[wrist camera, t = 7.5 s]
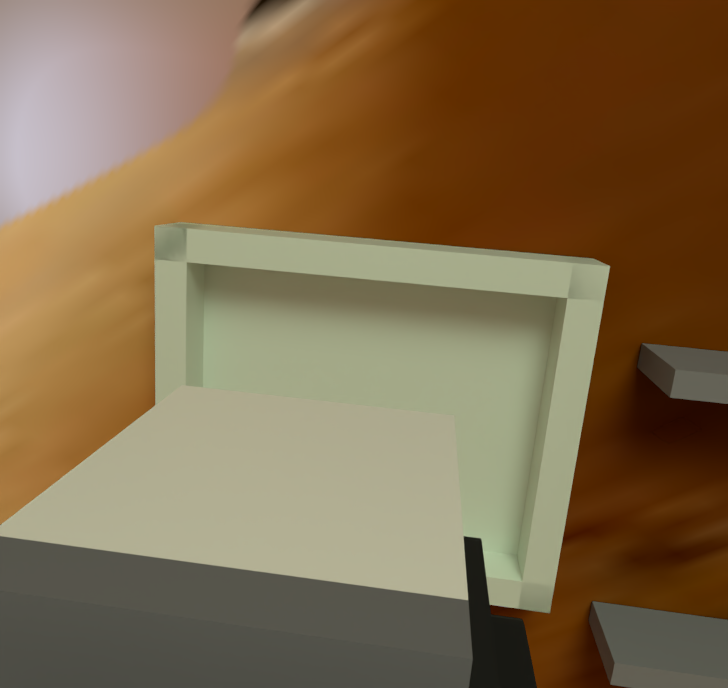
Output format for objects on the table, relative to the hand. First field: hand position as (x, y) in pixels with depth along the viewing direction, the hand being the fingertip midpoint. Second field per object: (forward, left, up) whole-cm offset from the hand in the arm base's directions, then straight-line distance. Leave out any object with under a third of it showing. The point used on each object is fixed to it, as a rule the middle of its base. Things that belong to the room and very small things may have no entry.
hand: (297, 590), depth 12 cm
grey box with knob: (0, 0, -1) cm, 1 cm away
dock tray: (0, 0, -10) cm, 10 cm away
